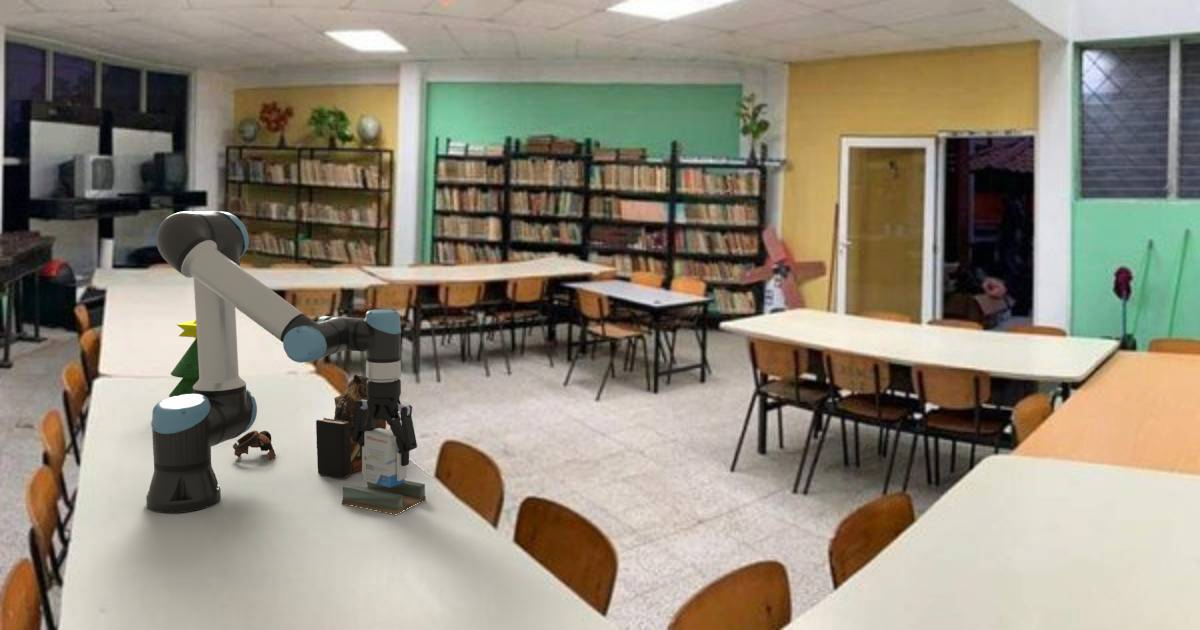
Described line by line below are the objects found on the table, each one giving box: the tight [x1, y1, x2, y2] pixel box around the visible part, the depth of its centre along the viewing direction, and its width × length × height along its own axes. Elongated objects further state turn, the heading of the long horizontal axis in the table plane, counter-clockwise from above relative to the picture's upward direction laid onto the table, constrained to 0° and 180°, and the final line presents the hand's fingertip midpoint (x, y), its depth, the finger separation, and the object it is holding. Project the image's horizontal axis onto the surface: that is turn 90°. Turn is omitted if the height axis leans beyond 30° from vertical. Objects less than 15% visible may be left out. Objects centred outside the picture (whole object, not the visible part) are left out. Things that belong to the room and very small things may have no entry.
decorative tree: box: [168, 319, 199, 398], centre depth 276 cm, size 19×19×30 cm
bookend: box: [315, 374, 370, 478], centre depth 225 cm, size 15×11×25 cm
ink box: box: [363, 428, 405, 488], centre depth 203 cm, size 9×5×12 cm, turn 58°
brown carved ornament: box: [232, 430, 276, 461], centre depth 235 cm, size 12×10×8 cm
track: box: [341, 479, 427, 515], centre depth 204 cm, size 11×15×4 cm
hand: (384, 475), depth 203 cm, fingers closed on ink box, 9 cm apart
